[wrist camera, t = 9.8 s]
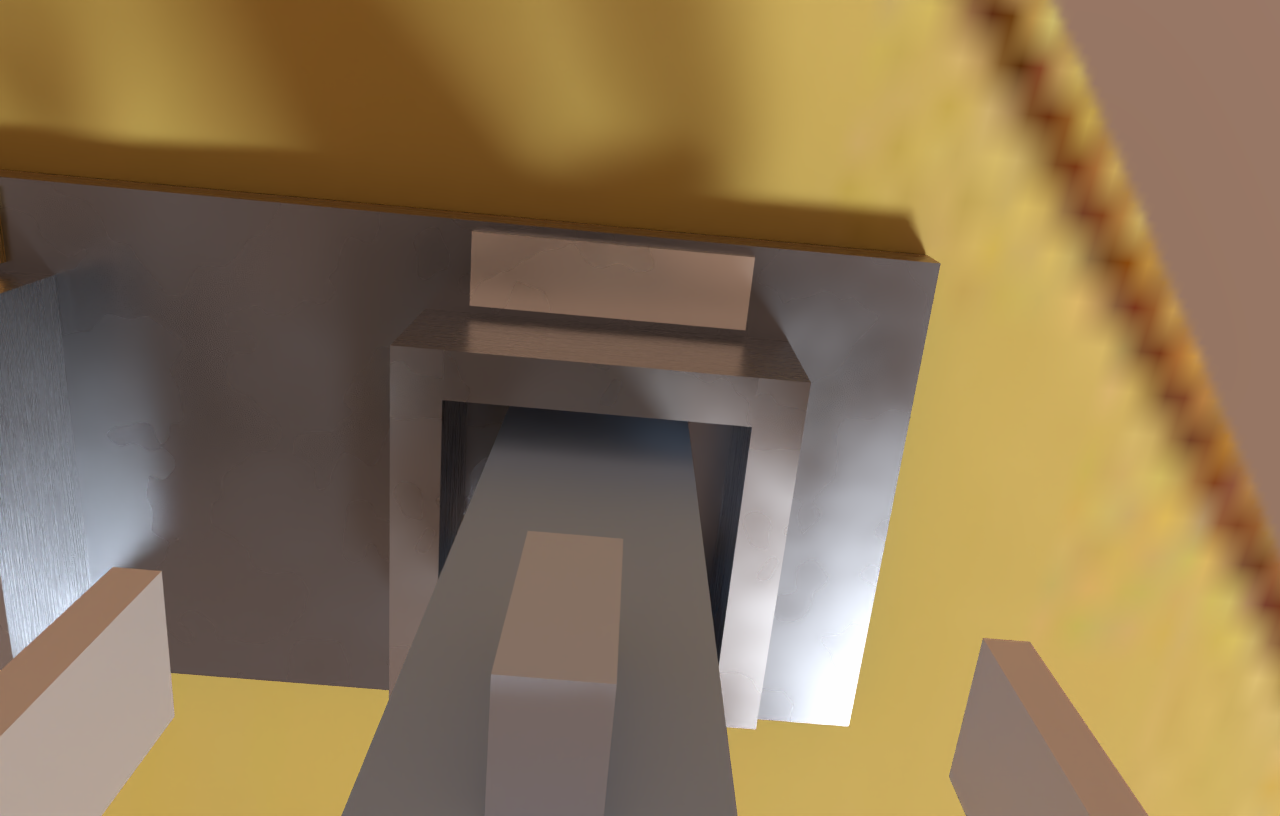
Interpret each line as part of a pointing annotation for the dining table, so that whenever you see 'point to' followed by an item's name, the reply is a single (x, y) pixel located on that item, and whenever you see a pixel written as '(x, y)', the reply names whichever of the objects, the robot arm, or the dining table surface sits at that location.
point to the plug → (564, 639)
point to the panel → (428, 416)
